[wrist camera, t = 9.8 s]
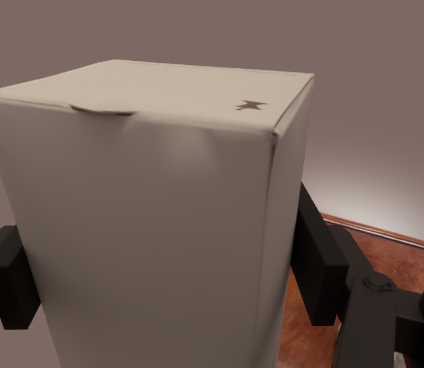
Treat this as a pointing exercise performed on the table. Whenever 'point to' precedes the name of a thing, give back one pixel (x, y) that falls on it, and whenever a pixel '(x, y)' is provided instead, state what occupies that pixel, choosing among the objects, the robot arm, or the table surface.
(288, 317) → the table surface
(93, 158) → the cosmetic box
